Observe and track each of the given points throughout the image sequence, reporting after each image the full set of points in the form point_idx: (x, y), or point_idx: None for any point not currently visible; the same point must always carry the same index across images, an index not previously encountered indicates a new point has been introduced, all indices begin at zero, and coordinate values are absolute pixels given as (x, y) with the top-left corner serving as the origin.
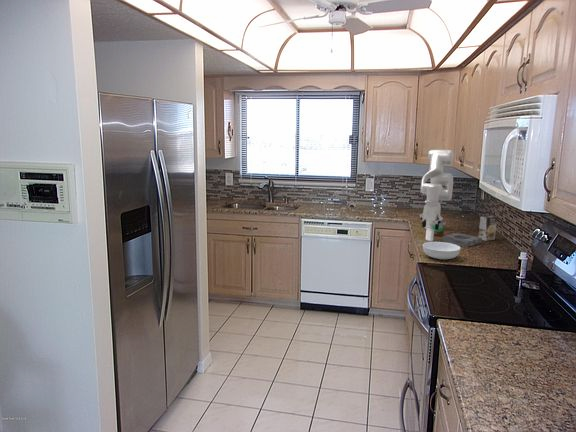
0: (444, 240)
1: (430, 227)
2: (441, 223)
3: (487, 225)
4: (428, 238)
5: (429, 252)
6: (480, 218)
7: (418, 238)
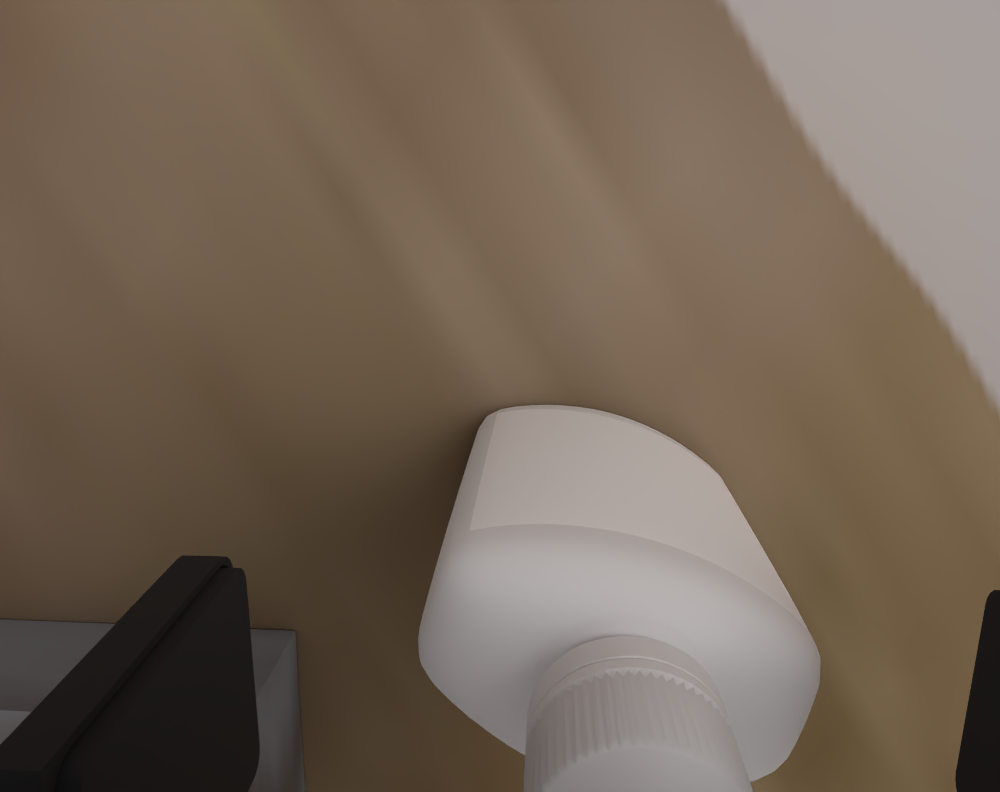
0: None
1: (568, 678)
2: None
3: None
4: (578, 424)
5: None
6: None
7: (951, 439)
